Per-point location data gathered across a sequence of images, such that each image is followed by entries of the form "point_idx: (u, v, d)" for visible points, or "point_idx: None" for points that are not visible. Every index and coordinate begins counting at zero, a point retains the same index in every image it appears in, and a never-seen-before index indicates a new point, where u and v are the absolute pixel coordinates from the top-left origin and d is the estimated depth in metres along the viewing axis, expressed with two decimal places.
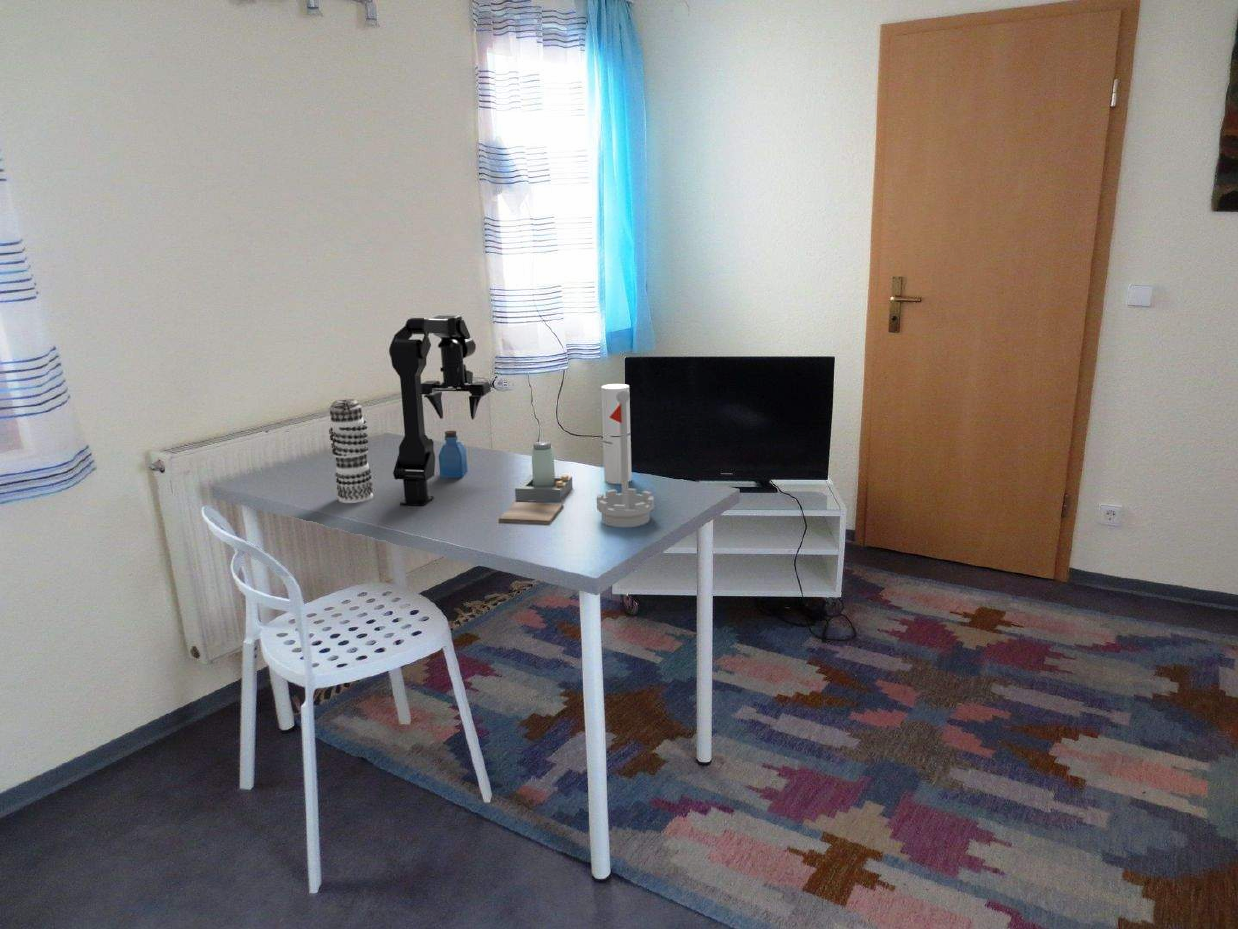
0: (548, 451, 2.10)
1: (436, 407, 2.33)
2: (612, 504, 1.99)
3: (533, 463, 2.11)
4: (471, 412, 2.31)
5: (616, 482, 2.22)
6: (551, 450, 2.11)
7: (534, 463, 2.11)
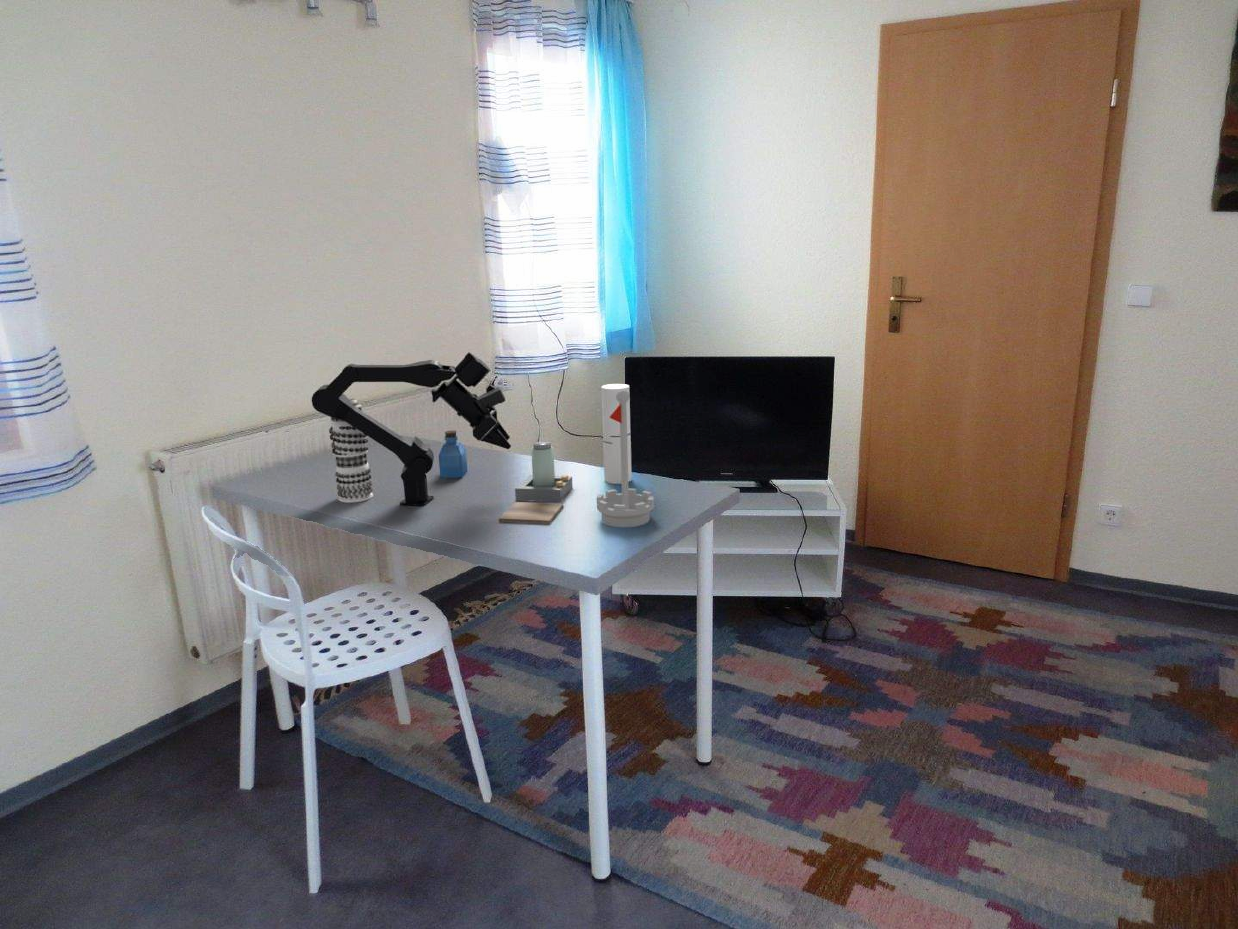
0: (548, 451, 2.10)
1: None
2: (612, 504, 1.99)
3: (533, 463, 2.11)
4: None
5: (616, 482, 2.22)
6: (551, 450, 2.11)
7: (534, 463, 2.11)
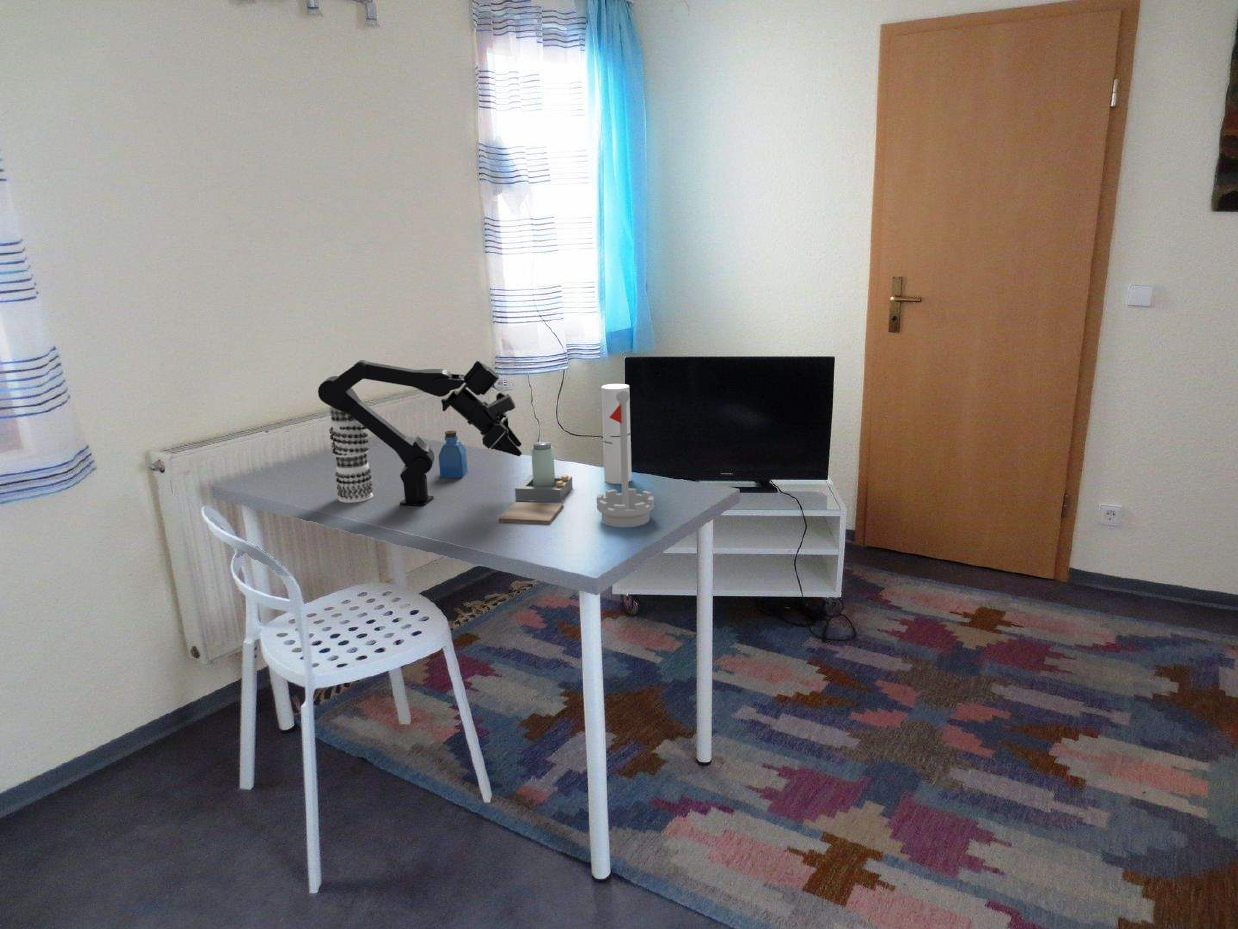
0: (548, 451, 2.10)
1: None
2: (612, 504, 1.99)
3: (533, 463, 2.11)
4: None
5: (616, 482, 2.22)
6: (551, 450, 2.11)
7: (534, 463, 2.11)
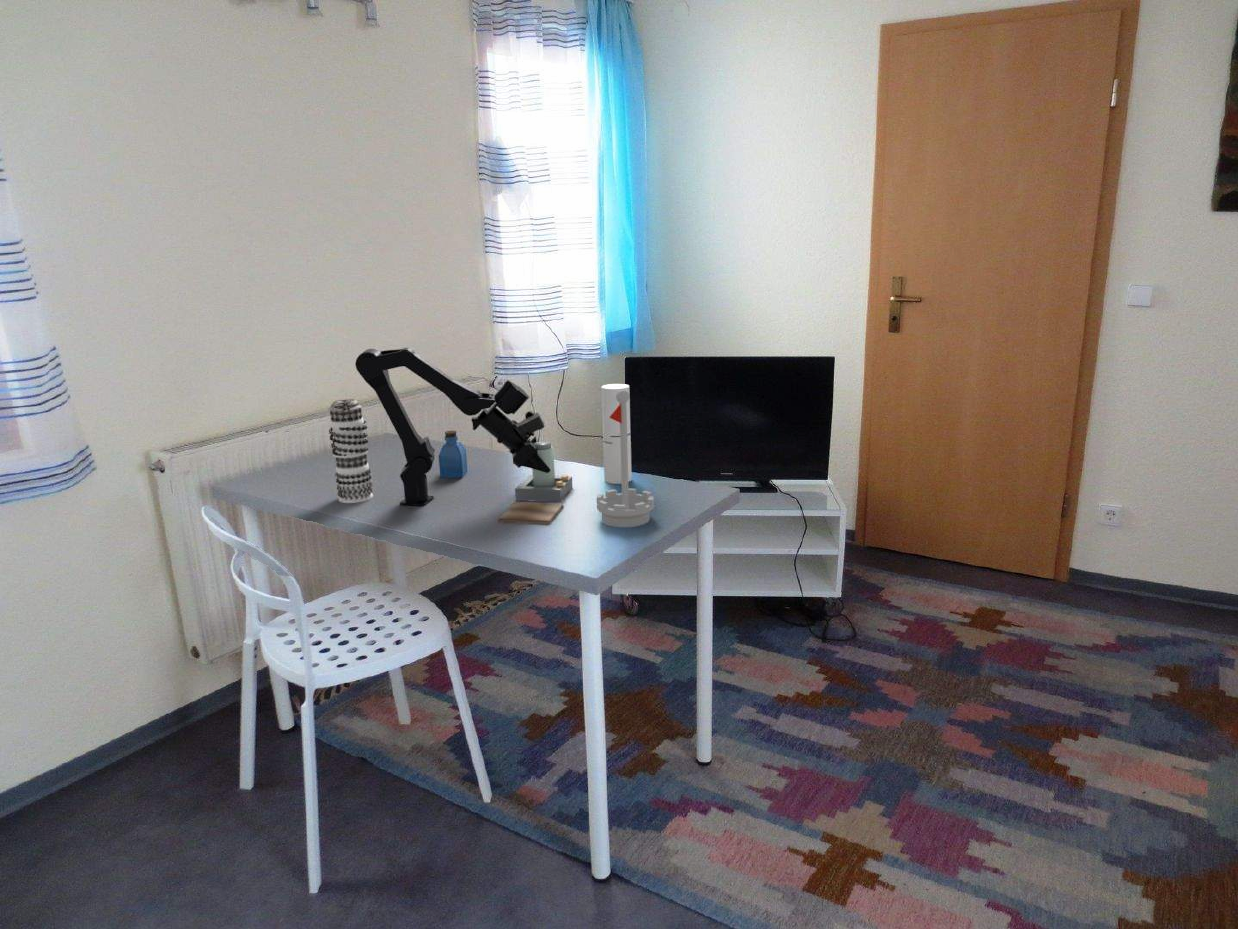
0: (549, 451, 2.10)
1: None
2: (612, 504, 1.99)
3: None
4: None
5: (616, 482, 2.22)
6: (551, 450, 2.11)
7: None
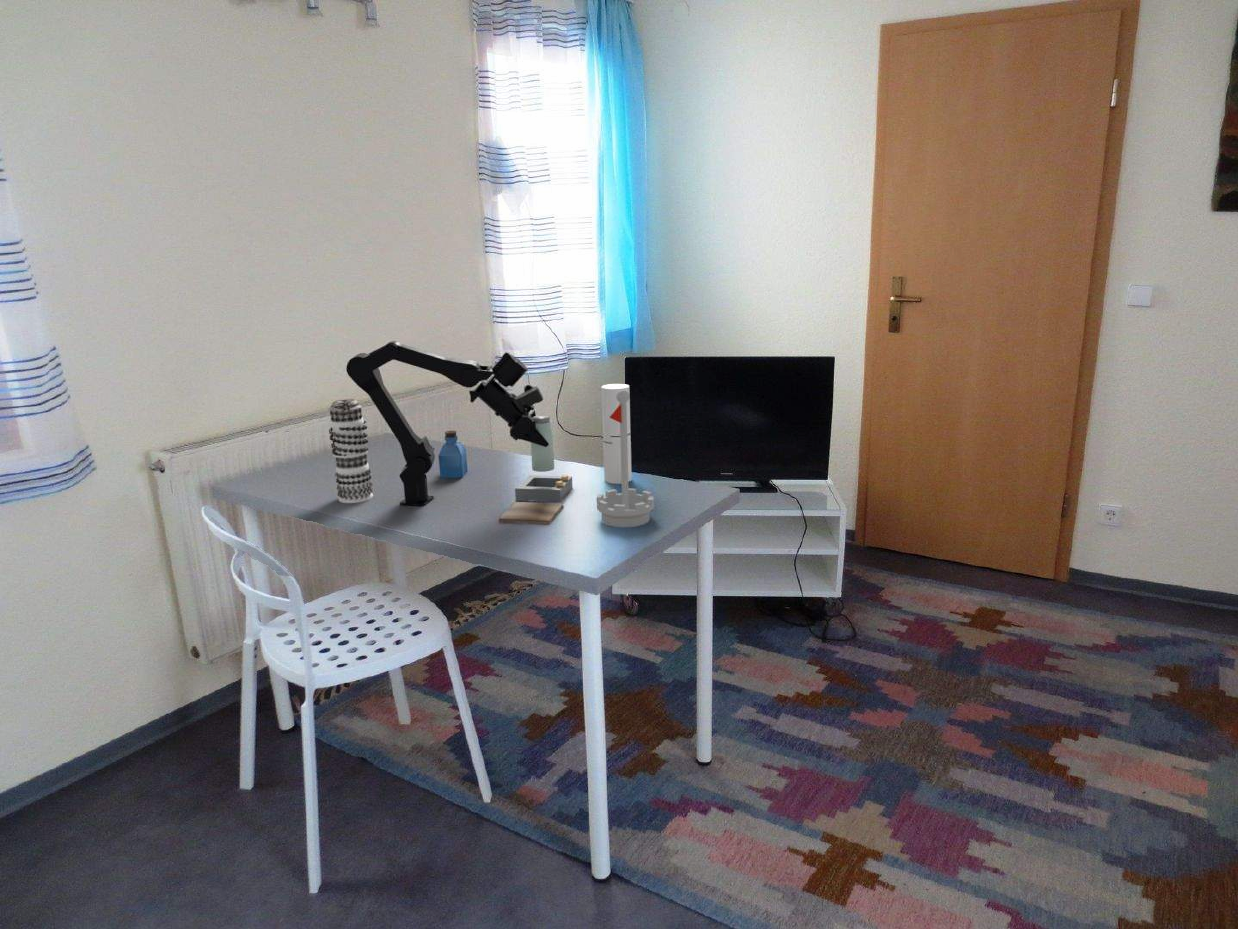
0: (547, 425, 2.07)
1: None
2: (612, 504, 1.99)
3: None
4: None
5: (616, 482, 2.22)
6: (550, 424, 2.08)
7: None
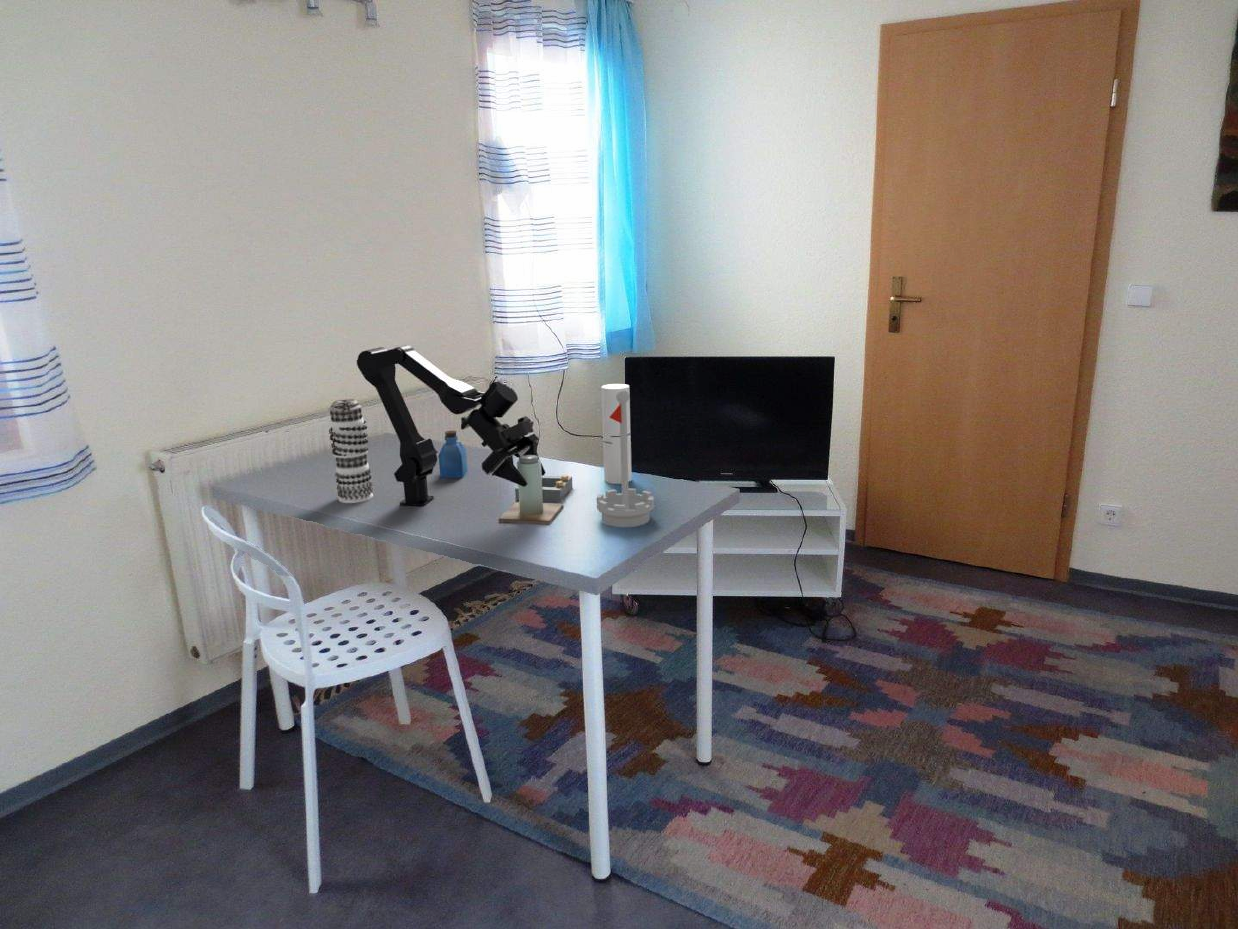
0: (530, 466, 1.94)
1: None
2: (612, 504, 1.99)
3: None
4: None
5: (616, 482, 2.22)
6: (534, 466, 1.94)
7: None
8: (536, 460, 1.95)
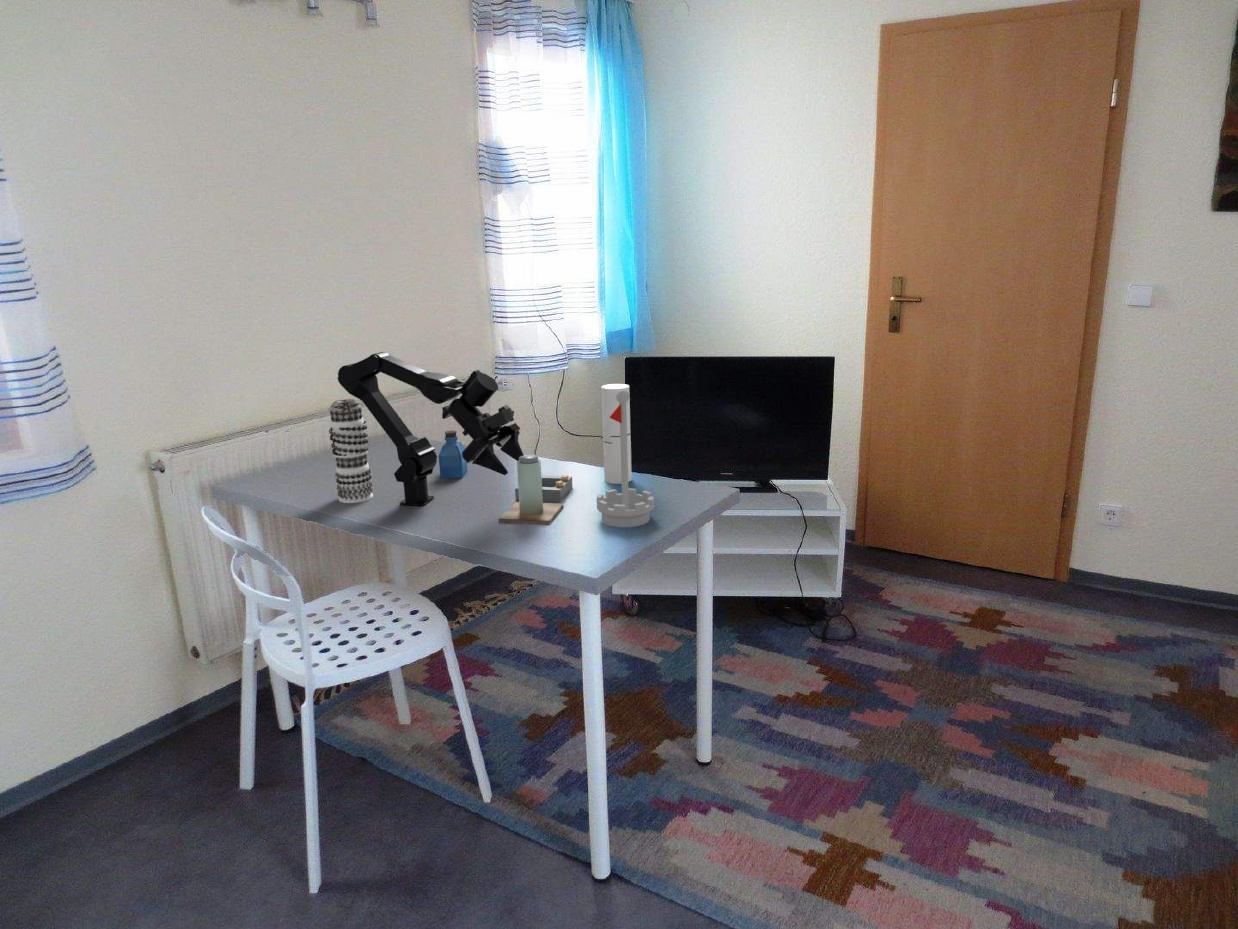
0: (530, 466, 1.94)
1: None
2: (612, 504, 1.99)
3: None
4: None
5: (616, 482, 2.22)
6: (534, 465, 1.95)
7: None
8: (536, 460, 1.96)
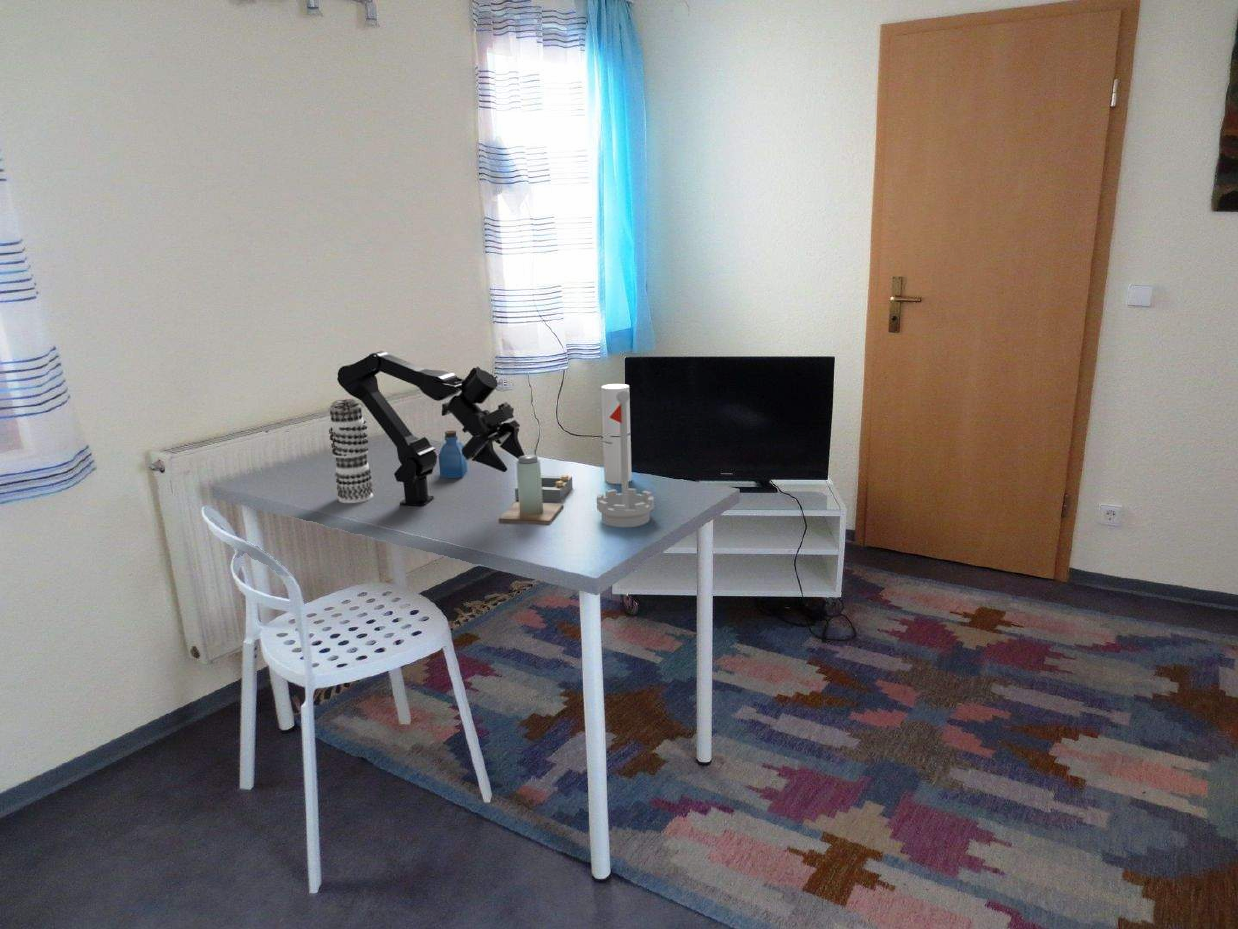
0: (529, 466, 1.94)
1: None
2: (612, 504, 1.99)
3: (517, 477, 1.97)
4: None
5: (616, 482, 2.22)
6: (533, 465, 1.95)
7: (517, 477, 1.97)
8: (535, 460, 1.95)
